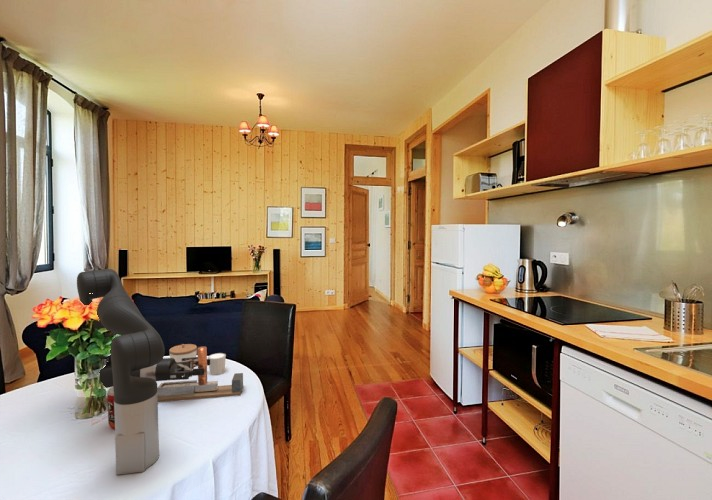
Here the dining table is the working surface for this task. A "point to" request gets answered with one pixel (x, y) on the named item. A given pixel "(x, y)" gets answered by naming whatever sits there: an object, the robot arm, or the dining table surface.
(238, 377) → the socket block
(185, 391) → the guide sleeve
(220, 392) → the plank
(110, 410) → the canned food
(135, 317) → the robot arm
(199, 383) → the sliding bolt with handle
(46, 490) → the dining table surface
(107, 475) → the dining table surface
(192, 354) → the lidded jar
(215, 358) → the beige cylindrical piece
